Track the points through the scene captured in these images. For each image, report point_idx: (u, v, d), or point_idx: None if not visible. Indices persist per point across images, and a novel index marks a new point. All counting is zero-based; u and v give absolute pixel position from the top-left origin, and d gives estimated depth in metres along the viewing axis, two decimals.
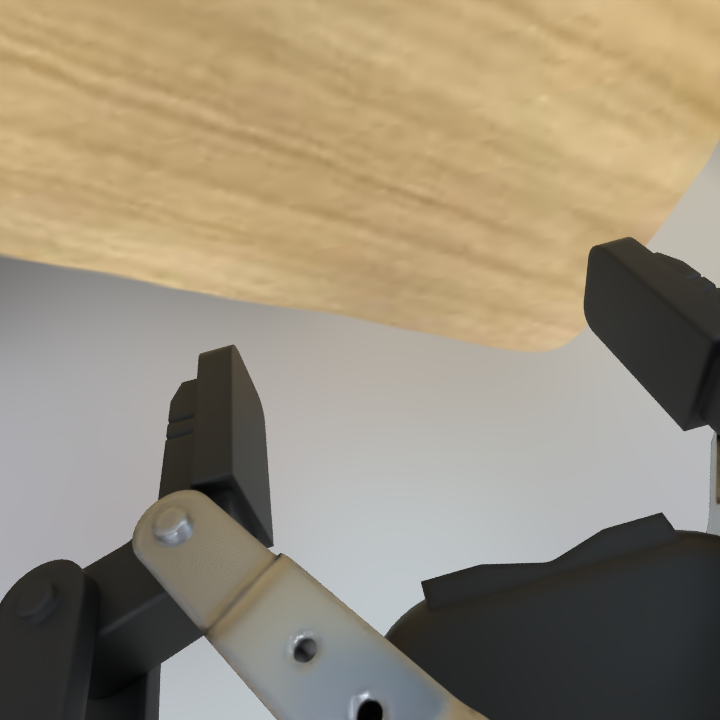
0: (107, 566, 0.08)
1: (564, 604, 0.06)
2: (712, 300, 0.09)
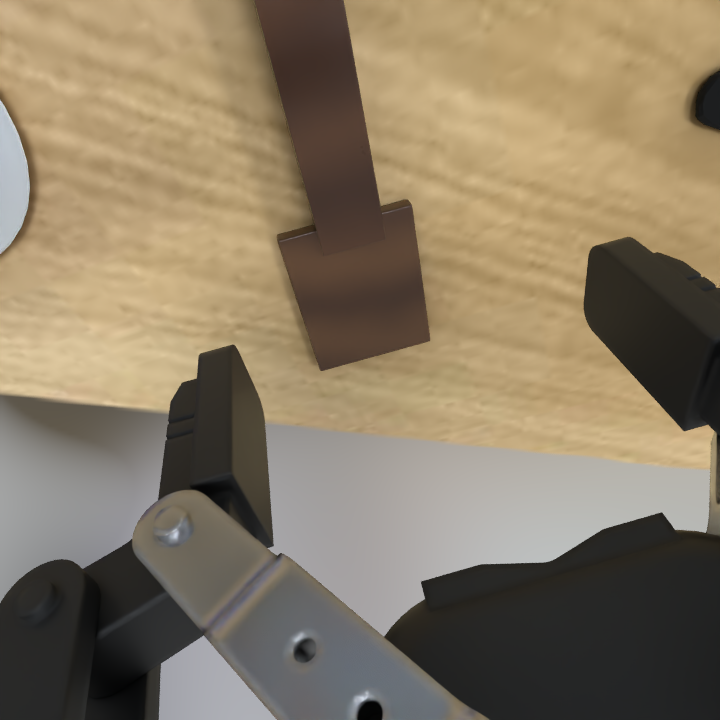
0: (106, 567, 0.08)
1: (564, 604, 0.06)
2: (712, 300, 0.09)
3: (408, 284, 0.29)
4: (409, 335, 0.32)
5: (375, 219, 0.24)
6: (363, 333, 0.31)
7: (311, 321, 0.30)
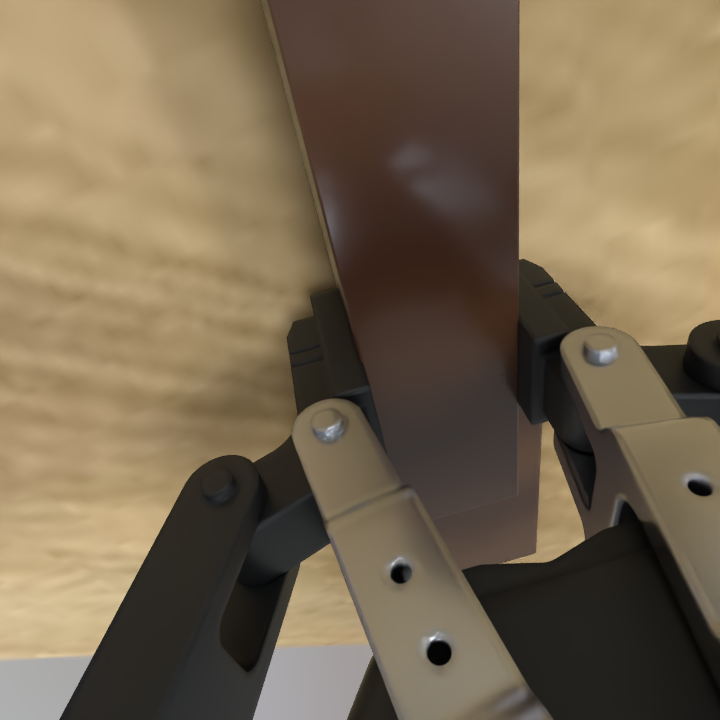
0: (264, 467, 0.09)
1: (564, 604, 0.06)
2: (546, 304, 0.10)
3: (517, 496, 0.18)
4: (506, 550, 0.21)
5: (506, 473, 0.12)
6: None
7: None
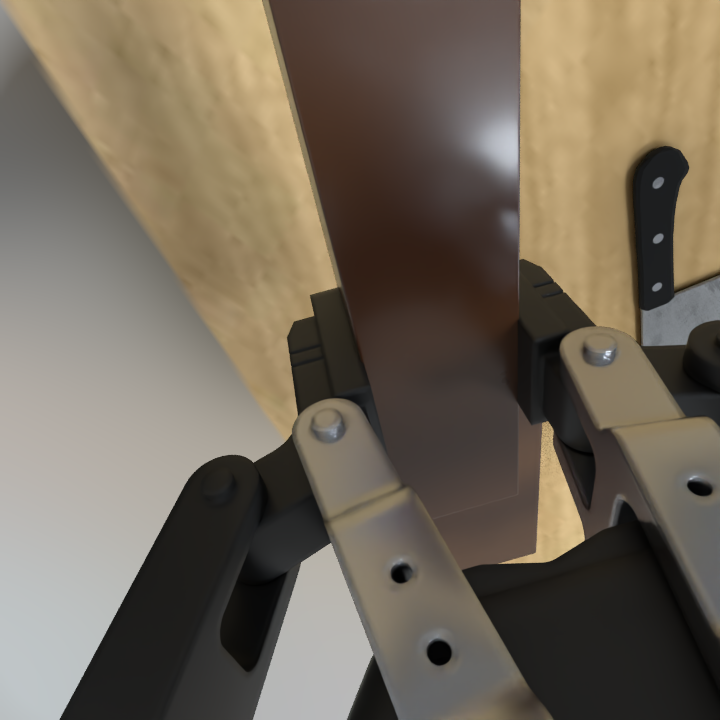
0: (264, 466, 0.09)
1: (564, 604, 0.06)
2: (546, 304, 0.10)
3: (517, 495, 0.18)
4: (506, 550, 0.21)
5: (506, 472, 0.12)
6: None
7: None
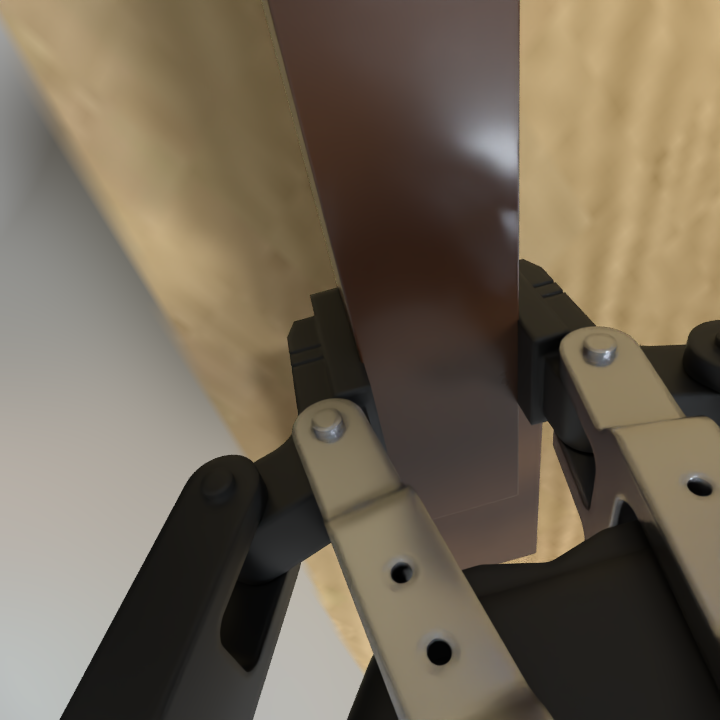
0: (264, 467, 0.09)
1: (564, 604, 0.06)
2: (546, 304, 0.10)
3: (517, 495, 0.18)
4: (506, 550, 0.21)
5: (506, 472, 0.12)
6: None
7: None
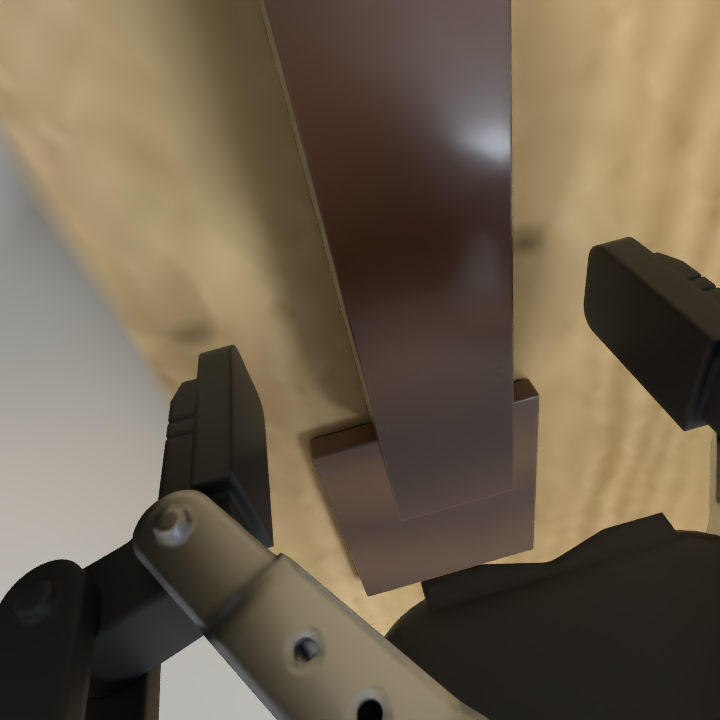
0: (107, 566, 0.08)
1: (564, 604, 0.06)
2: (712, 300, 0.09)
3: (514, 491, 0.18)
4: (504, 546, 0.21)
5: (502, 466, 0.13)
6: (437, 551, 0.20)
7: (359, 546, 0.19)
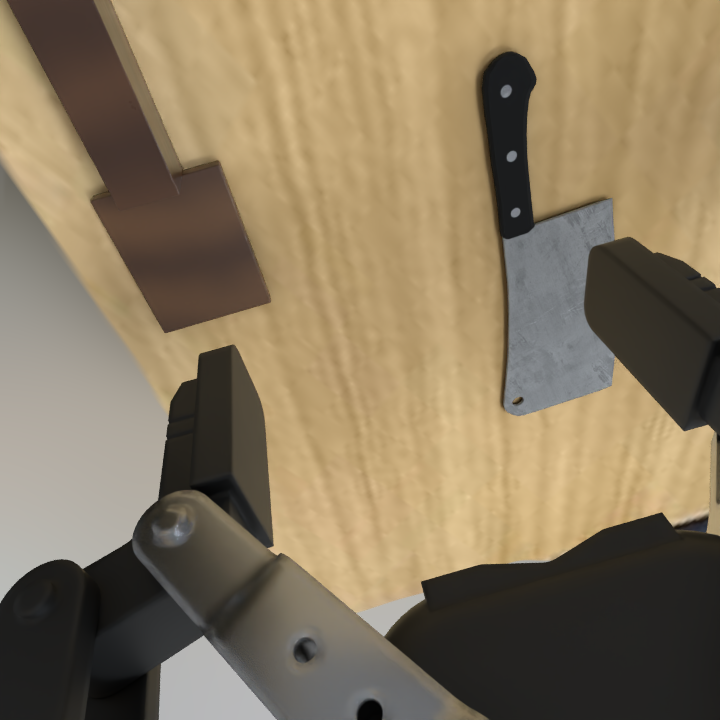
0: (106, 566, 0.08)
1: (564, 604, 0.06)
2: (712, 300, 0.09)
3: (234, 244, 0.31)
4: (247, 296, 0.33)
5: (163, 174, 0.25)
6: (200, 294, 0.32)
7: (143, 282, 0.31)
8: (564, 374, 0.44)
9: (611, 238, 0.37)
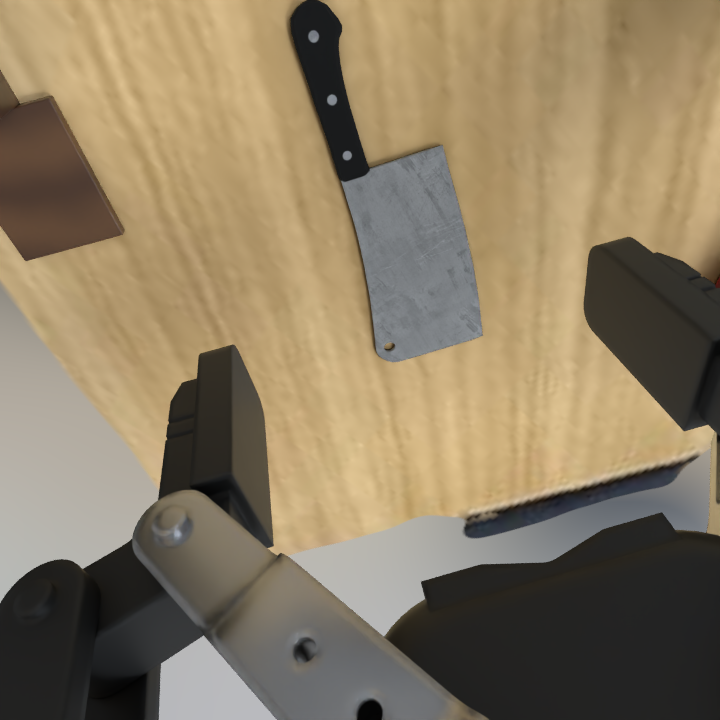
0: (106, 567, 0.08)
1: (564, 604, 0.06)
2: (712, 300, 0.09)
3: (77, 176, 0.34)
4: (98, 227, 0.36)
5: None
6: (52, 224, 0.35)
7: None
8: (431, 321, 0.47)
9: (450, 185, 0.40)
